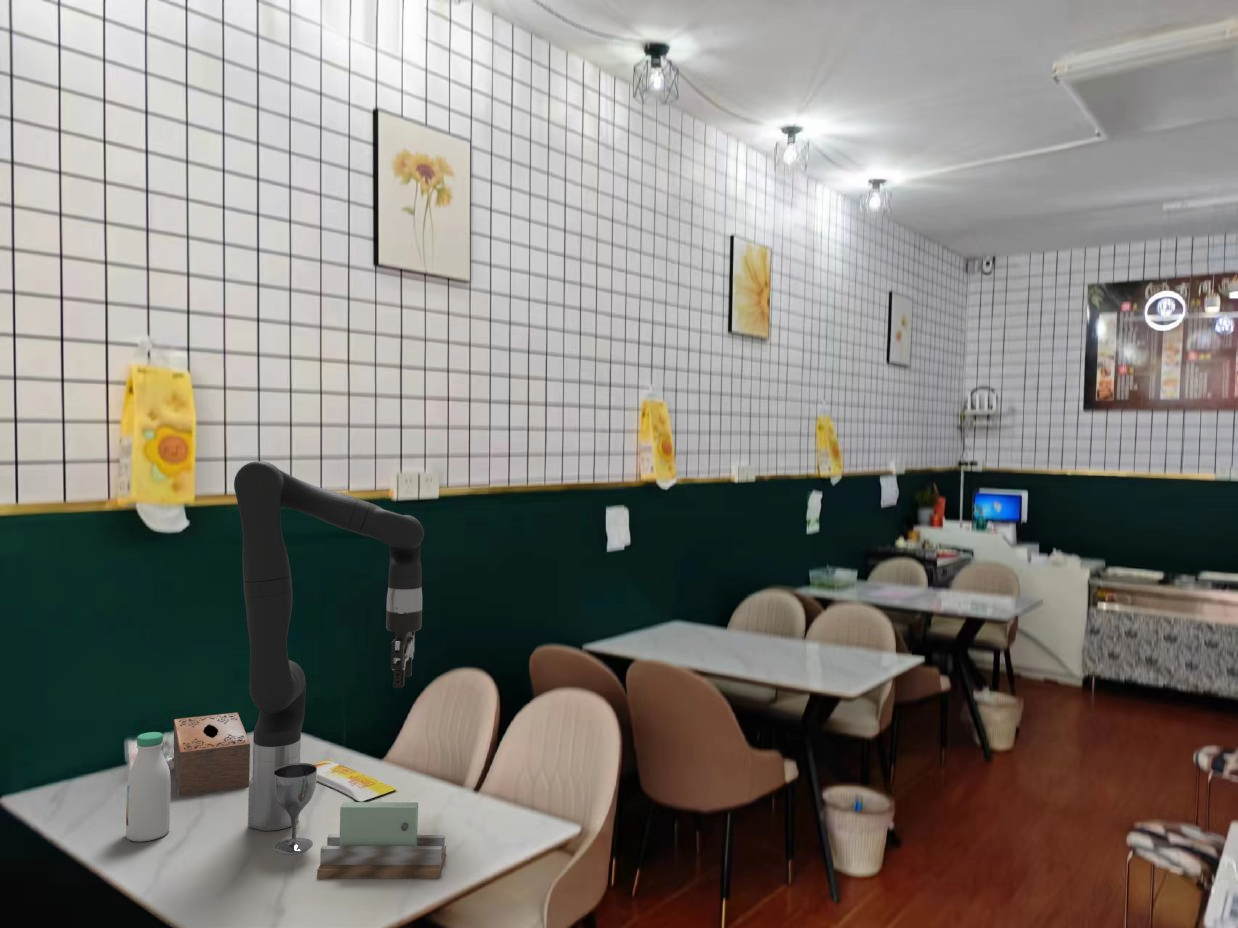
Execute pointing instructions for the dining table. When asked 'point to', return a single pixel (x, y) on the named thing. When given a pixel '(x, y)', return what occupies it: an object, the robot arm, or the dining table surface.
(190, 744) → the tissue box cover
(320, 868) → the door track
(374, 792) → the food package
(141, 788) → the milk bottle
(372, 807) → the door panel
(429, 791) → the dining table surface
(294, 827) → the wine glass
